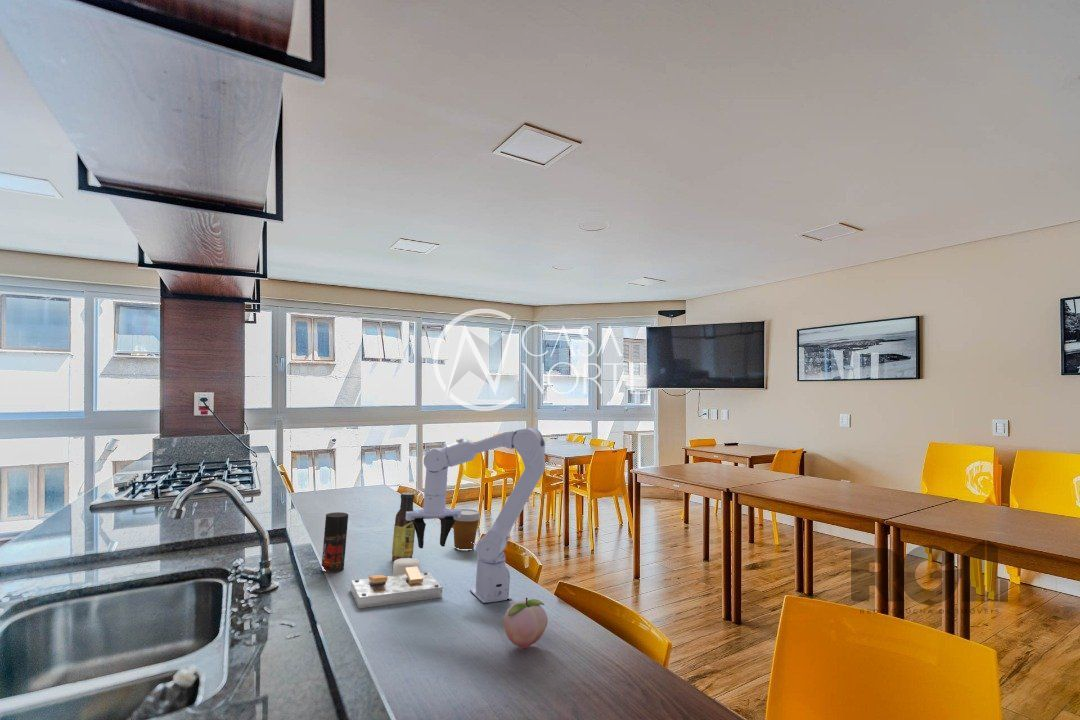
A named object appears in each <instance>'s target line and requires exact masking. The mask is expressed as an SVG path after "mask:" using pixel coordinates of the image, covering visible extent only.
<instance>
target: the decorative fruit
mask: <svg viewBox="0 0 1080 720" xmlns="http://www.w3.org/2000/svg"><path fill="white" fill-rule="evenodd" d="M542 606H545V603H544V602H542V601H541V600H540V599H534V598H532V599H531V598H530V599H529V600H528V597H525V600H521V601H516V602H515V603H513V604H512V605H510V606H509V607H508V608H507V609H506V611H505V613H504V616H503V629H504V632H505V635H506V637H507V638H508V640H509V641H510V642H511V643H512V644H513V645H515V646H517V647H520V648H522V649H526V648H528V647H531V646H533V645H535V644H536V643H537V642H538V641H539V640H540V639H541V637H542V636H543V634H544V633H545V632H546V629H547V626H548V615H547V612H546V610H545V609H544V608H543V607H542Z"/></svg>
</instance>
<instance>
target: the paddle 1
mask: <svg viewBox="0 0 1080 720" xmlns="http://www.w3.org/2000/svg"><path fill="white" fill-rule="evenodd" d="M368 578H369V581H371V582H373V583H378V582H387V576H385V575H384V574H378V575H377V574H375V575H368Z"/></svg>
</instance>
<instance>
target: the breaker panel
mask: <svg viewBox="0 0 1080 720" xmlns="http://www.w3.org/2000/svg"><path fill="white" fill-rule="evenodd" d="M420 573H421V575H422V577H423V582H420V583H412V584H410V582H409V580H408V578H407V575H406V574H405V575H396V576H393V575H389V576H386V577H387V582H378V583H373V582H371V581H369V577H368V578H361V579H353V580H352V579H351V581H350V592H351V596H352V598H353V599H354V602H355V604H356V606H357V609H366V608H372V607H373V608H374V607H381V606H387V605H395V604H402V603H409V602H416V601H417V602H418V601H425V600H433V599H438V598H439V599H441V598H443V586H442V584H440V582H438V580H437V579H436V578H435V577H434V576H433V575H432V574H431V572H429V571H425V572H420Z"/></svg>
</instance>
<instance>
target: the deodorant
mask: <svg viewBox="0 0 1080 720" xmlns="http://www.w3.org/2000/svg"><path fill="white" fill-rule="evenodd" d="M324 521H325V522H324V524H325V525H324V533H323V535H324V536H323V545H322V546H323V547H322V555H321V556H322V557H321V566H323V567H324V569H325V570H326V572H325V573H330V574H331V573H339V572H342V571H344V569H345V557H346V547H347V536H348V523H349V513H347V512H336V511H335V512H329V513H326V514H325V520H324Z"/></svg>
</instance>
